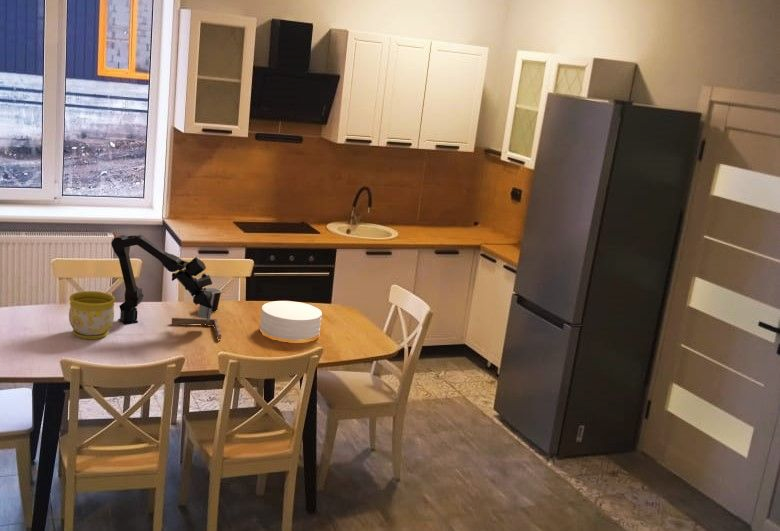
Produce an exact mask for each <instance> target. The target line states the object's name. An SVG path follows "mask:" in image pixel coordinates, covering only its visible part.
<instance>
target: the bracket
mask: <svg viewBox="0 0 780 531" xmlns="http://www.w3.org/2000/svg"><path fill="white" fill-rule="evenodd" d="M202 291H204V292H205V293H207V299H208V301H209V302H210V304H211V306H212V305H213V300H214V291H208V290H202ZM211 311H212V308H211V309H210V308H207V307H205V306H202V305H200V304H199V307H198V312H197V318H198V319H207V322H209V321H210V319H211V315H212V312H211Z"/></svg>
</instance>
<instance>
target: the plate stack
mask: <svg viewBox="0 0 780 531" xmlns="http://www.w3.org/2000/svg"><path fill="white" fill-rule="evenodd" d="M322 316H323V312H322V310H321V309H319V308H318V307H316V306H314V305H311V304H308V303H306V302H305V303H304V302H299V301H291V300H276V301H275V300H274V301H269V302H267V303H264V304H263V305H262V307H261V313H260V324H259V328H260V327H261V329H262V331H263V332H264V333H266V334H268V335H270V336H274V337H277V338H282V339H290V340H299V339H308V338H312V337H315V336H316V335H318V334H319V335H320V332H321V323H322Z"/></svg>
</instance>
